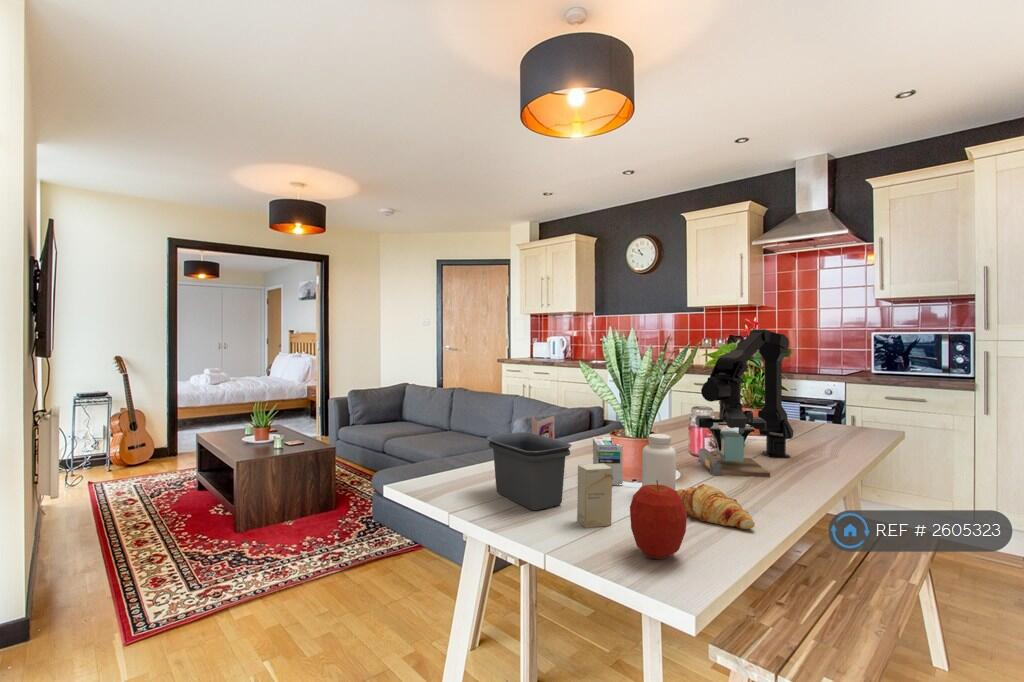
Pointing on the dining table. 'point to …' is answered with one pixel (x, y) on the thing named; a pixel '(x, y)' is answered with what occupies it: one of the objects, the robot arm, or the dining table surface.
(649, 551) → the apple
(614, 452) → the light bulb box
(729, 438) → the teal carton
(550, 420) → the pink printed box
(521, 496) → the storage bin
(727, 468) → the shelf board
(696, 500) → the croissant
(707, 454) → the price rail
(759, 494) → the dining table surface
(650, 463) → the pill bottle
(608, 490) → the skincare box
